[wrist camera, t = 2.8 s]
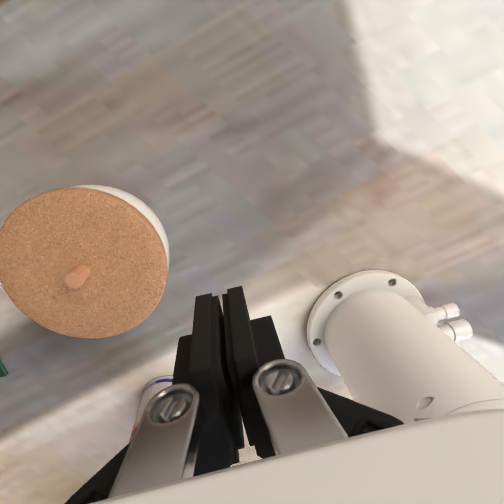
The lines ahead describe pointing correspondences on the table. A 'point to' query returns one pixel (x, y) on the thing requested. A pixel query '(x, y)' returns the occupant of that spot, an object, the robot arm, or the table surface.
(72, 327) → the trinket box
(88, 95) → the table surface
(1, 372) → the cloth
